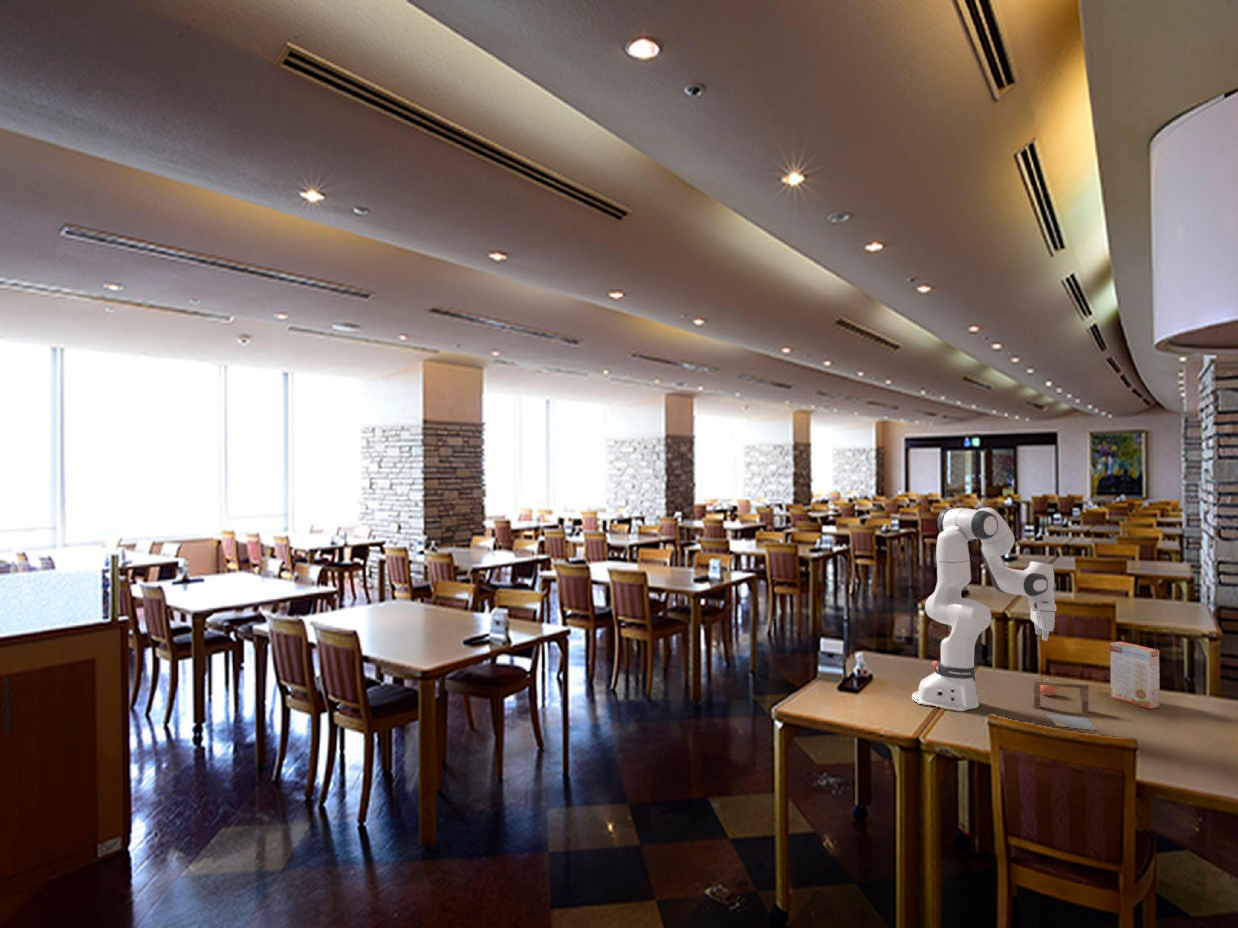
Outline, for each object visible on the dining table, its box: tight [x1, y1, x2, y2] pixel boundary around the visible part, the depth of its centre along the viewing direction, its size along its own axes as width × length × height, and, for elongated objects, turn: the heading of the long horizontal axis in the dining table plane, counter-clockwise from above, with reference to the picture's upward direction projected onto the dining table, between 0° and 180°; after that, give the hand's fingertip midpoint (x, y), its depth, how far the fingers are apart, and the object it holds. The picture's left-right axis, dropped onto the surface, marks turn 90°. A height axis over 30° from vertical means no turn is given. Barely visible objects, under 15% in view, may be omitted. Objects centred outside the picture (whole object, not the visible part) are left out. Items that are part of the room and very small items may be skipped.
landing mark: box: [1046, 713, 1098, 731], centre depth 242 cm, size 12×12×1 cm
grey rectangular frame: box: [1031, 678, 1090, 714], centre depth 256 cm, size 3×17×10 cm, turn 72°
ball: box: [1040, 678, 1058, 697], centre depth 271 cm, size 6×6×6 cm
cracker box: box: [1110, 641, 1160, 710], centre depth 262 cm, size 14×6×21 cm, turn 22°
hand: (1041, 637), depth 280 cm, fingers open, 8 cm apart
